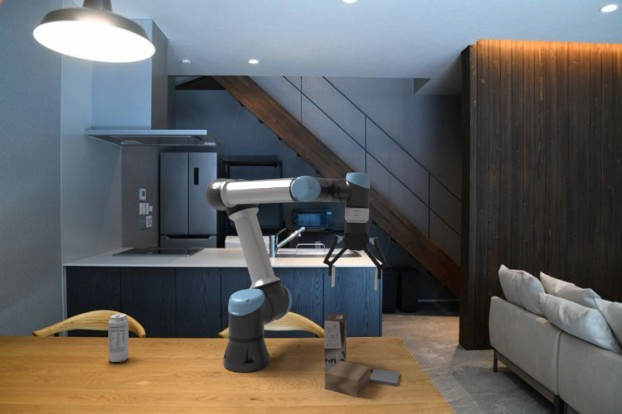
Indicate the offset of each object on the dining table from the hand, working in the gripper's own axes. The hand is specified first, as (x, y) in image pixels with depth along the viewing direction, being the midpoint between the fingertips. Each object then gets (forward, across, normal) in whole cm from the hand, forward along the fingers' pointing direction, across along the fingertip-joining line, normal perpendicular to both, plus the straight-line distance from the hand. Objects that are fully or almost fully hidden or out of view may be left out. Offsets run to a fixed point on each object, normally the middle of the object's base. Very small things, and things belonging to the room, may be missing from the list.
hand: (354, 287), depth 126 cm
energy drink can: (+29, -78, -8) cm, 83 cm away
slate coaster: (+26, +11, -5) cm, 28 cm away
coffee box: (+27, -5, +1) cm, 27 cm away
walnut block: (+26, 0, -12) cm, 29 cm away
